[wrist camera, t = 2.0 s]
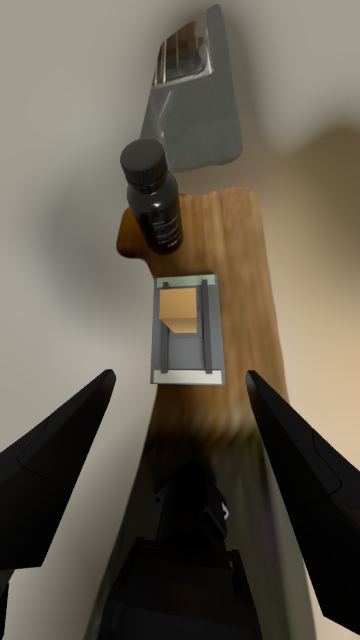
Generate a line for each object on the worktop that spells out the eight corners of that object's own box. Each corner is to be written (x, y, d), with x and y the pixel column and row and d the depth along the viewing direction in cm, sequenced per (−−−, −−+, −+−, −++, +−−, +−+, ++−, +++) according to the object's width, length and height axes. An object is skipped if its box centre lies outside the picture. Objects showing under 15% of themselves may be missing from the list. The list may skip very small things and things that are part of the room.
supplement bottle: (141, 237, 27) (100, 151, 16) (171, 219, 27) (153, 120, 16) (158, 263, 25) (126, 187, 14) (190, 243, 26) (186, 153, 14)
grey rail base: (223, 382, 20) (227, 387, 17) (153, 381, 21) (147, 385, 18) (216, 278, 24) (218, 269, 21) (157, 282, 25) (152, 273, 22)
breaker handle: (201, 337, 20) (206, 324, 11) (170, 337, 20) (150, 325, 11) (200, 312, 21) (204, 281, 12) (171, 313, 21) (152, 284, 12)
